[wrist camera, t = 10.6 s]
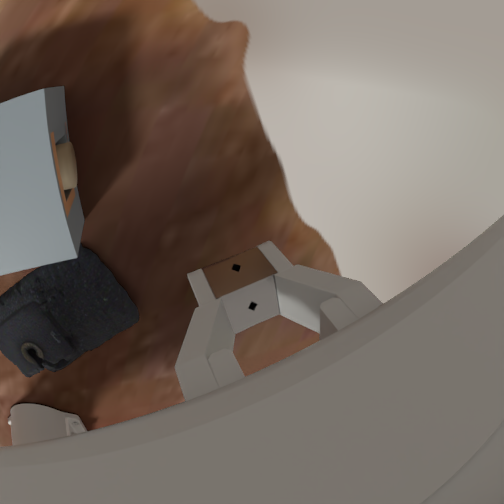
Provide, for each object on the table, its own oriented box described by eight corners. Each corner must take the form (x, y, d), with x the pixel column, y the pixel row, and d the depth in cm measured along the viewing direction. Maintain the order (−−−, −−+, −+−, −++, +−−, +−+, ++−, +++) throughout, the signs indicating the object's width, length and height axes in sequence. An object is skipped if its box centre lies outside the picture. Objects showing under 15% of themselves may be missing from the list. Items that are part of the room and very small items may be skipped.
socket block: (84, 220, 27) (77, 257, 22) (-6, 242, 23) (-26, 281, 18) (64, 85, 19) (44, 88, 14) (-37, 122, 15) (-72, 138, 10)
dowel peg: (79, 178, 23) (72, 194, 20) (-20, 207, 19) (-35, 225, 16) (72, 137, 21) (64, 147, 18) (-30, 170, 17) (-48, 185, 14)
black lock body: (153, 314, 38) (159, 340, 34) (47, 370, 35) (46, 394, 32) (84, 230, 28) (80, 254, 24) (-23, 311, 25) (-31, 337, 22)
